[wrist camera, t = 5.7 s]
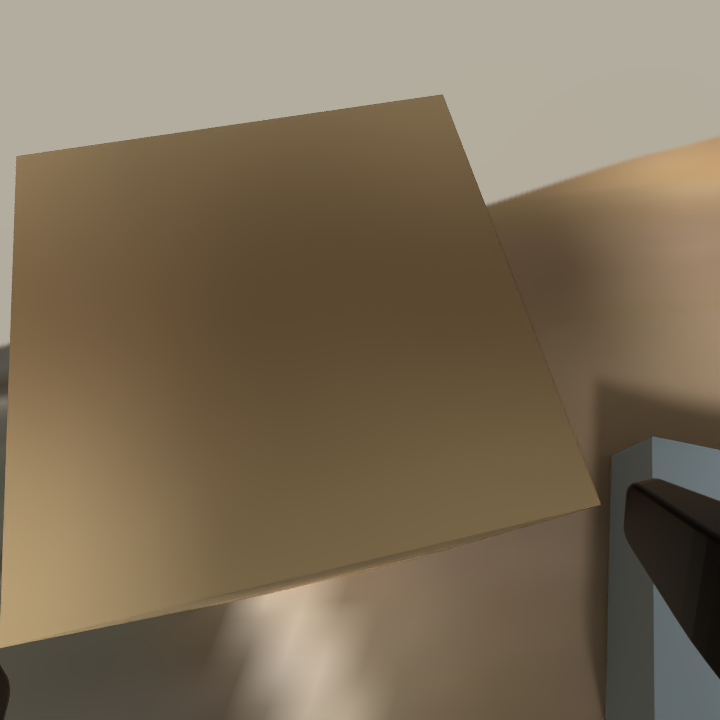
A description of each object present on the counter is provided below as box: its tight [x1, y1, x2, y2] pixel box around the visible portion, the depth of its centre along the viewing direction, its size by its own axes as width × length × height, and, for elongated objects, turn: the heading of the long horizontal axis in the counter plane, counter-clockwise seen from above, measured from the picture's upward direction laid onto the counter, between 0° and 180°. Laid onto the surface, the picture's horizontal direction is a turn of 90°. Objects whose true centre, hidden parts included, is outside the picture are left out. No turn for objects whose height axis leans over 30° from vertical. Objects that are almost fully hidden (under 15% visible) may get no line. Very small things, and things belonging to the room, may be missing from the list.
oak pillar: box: [0, 95, 601, 648], centre depth 11 cm, size 5×5×13 cm
